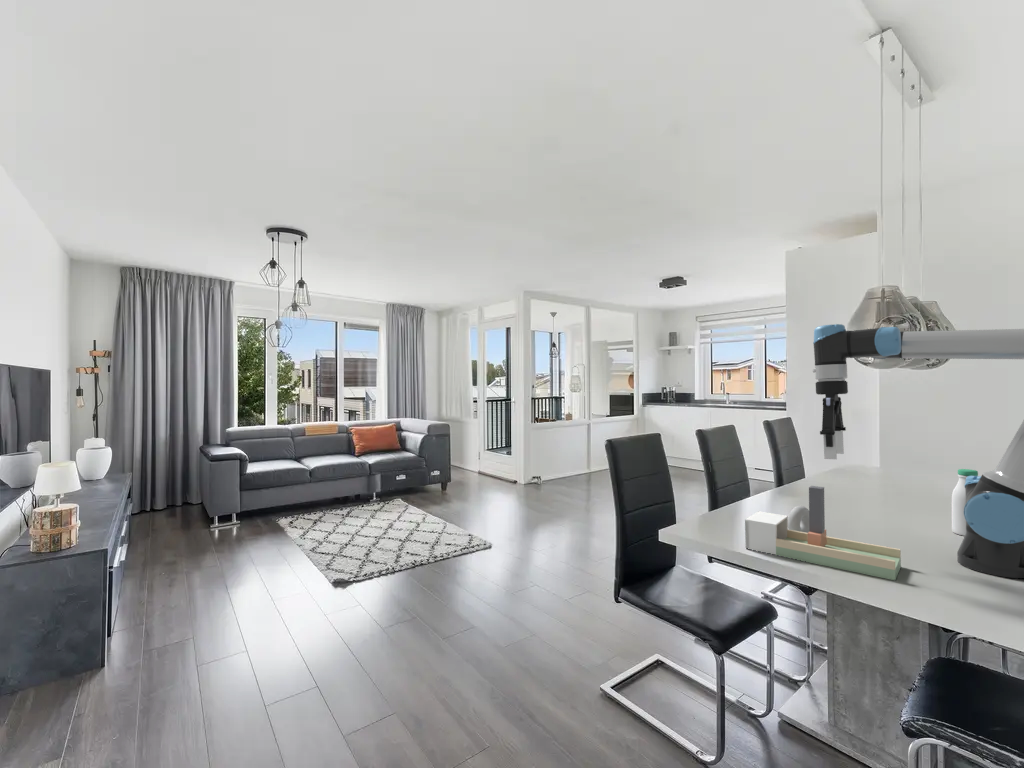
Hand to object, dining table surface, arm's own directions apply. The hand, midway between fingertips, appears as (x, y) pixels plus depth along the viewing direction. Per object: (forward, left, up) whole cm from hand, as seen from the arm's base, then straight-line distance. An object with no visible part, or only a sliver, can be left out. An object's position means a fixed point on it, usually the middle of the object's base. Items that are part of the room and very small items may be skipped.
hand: (834, 456), depth 137 cm
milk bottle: (-27, -46, -27) cm, 60 cm away
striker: (+3, +8, -24) cm, 25 cm away
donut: (+11, -7, -27) cm, 30 cm away
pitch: (+3, +8, -27) cm, 28 cm away
